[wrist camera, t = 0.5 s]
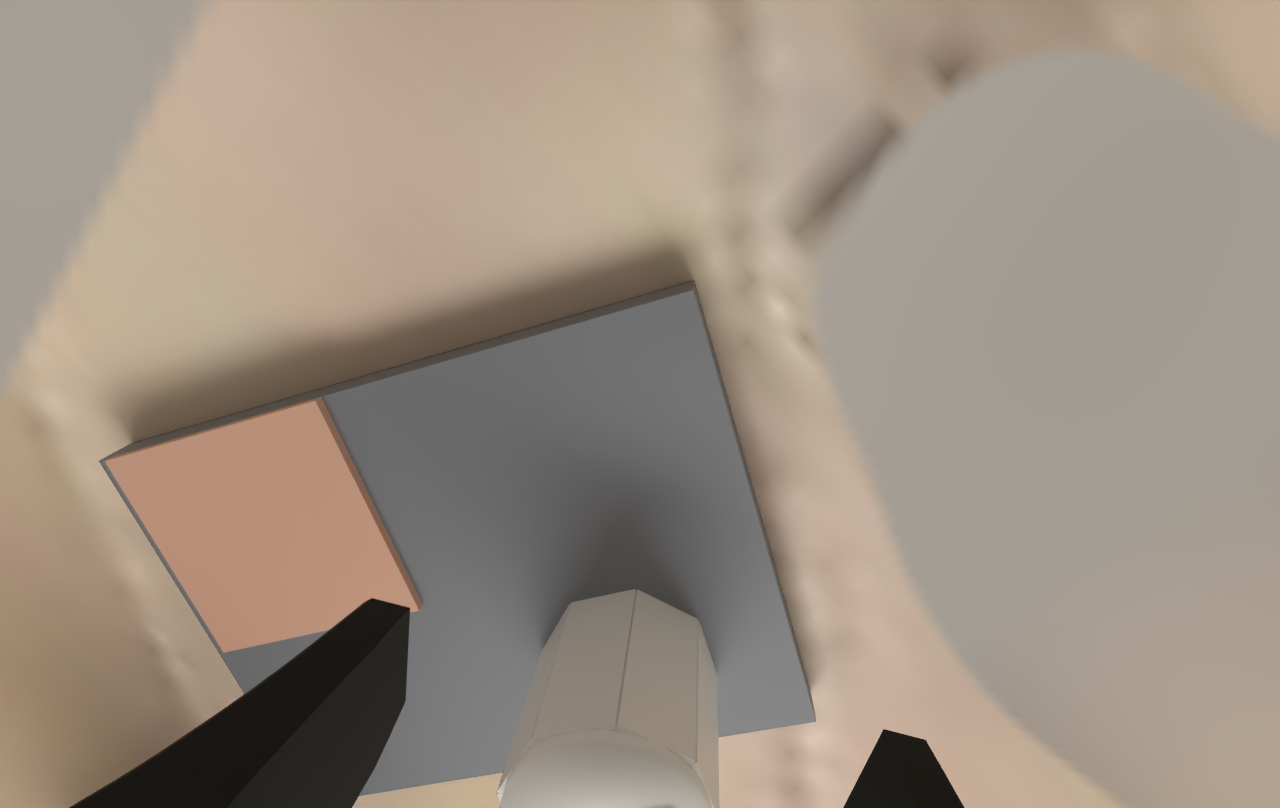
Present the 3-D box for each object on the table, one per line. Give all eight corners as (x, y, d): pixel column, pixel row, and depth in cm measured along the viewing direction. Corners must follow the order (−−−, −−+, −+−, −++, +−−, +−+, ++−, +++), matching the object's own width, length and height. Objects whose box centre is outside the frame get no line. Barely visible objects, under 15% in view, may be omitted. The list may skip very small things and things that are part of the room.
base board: (329, 774, 26) (312, 803, 25) (130, 443, 21) (98, 460, 20) (811, 692, 23) (816, 721, 21) (694, 280, 18) (693, 289, 17)
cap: (578, 735, 22) (540, 920, 17) (524, 612, 21) (463, 773, 16) (729, 710, 22) (736, 897, 16) (685, 578, 20) (677, 738, 15)
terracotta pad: (229, 646, 22) (223, 652, 22) (112, 456, 20) (104, 461, 20) (423, 604, 21) (419, 610, 21) (321, 397, 19) (315, 400, 19)
